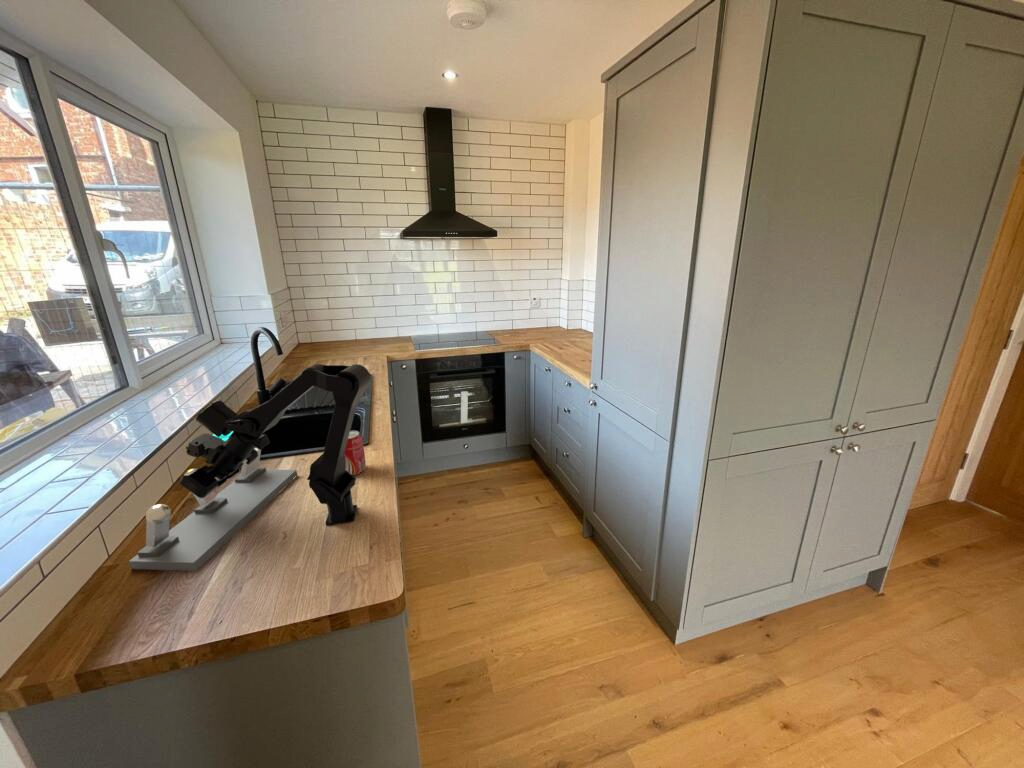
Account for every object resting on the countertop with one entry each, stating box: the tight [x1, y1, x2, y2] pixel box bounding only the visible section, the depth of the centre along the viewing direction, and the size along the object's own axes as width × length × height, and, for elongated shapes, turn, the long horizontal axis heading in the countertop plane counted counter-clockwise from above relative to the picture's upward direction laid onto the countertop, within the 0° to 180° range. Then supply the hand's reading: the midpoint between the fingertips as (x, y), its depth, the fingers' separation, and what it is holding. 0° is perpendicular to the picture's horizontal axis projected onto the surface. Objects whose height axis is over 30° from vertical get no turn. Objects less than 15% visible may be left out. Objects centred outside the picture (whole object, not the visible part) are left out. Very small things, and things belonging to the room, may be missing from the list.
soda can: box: [344, 429, 367, 476], centre depth 121 cm, size 7×7×12 cm
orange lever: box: [184, 468, 218, 506], centre depth 100 cm, size 4×4×9 cm
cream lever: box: [145, 503, 172, 547], centre depth 86 cm, size 4×4×9 cm
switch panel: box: [128, 466, 298, 571], centre depth 102 cm, size 14×38×3 cm, turn 177°
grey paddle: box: [240, 447, 262, 476], centre depth 115 cm, size 1×6×6 cm, turn 178°
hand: (205, 488), depth 101 cm, fingers closed, pressing on orange lever
